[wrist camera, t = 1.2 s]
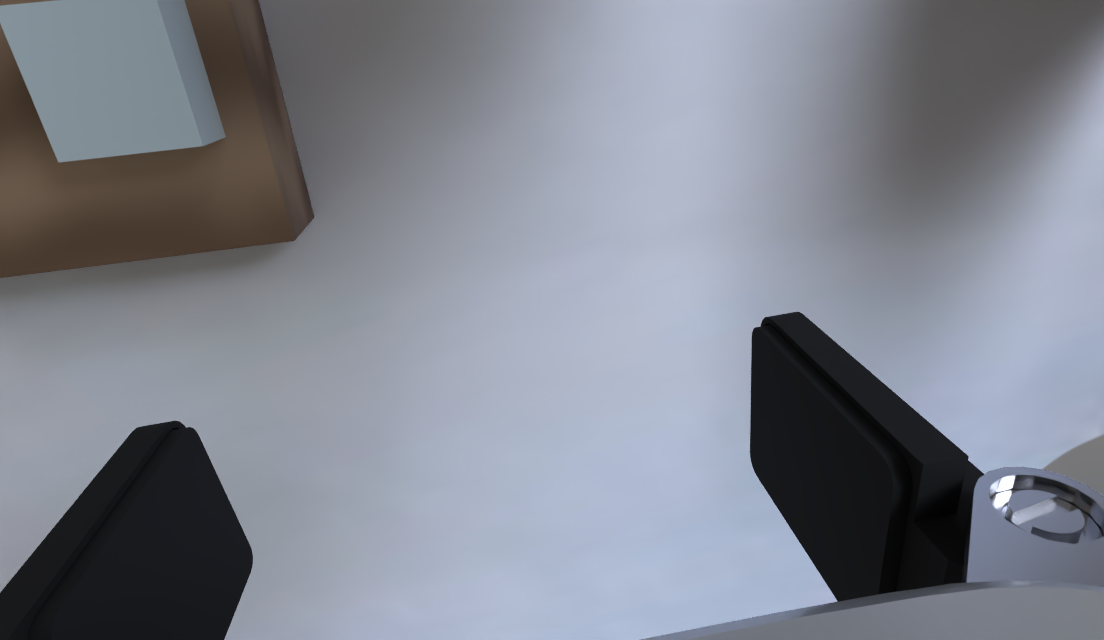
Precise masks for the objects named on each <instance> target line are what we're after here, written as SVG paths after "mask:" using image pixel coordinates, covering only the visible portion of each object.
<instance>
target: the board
mask: <svg viewBox="0 0 1104 640" xmlns="http://www.w3.org/2000/svg"><path fill="white" fill-rule="evenodd" d="M45 1H55V0H0V6H2V5H12V4H23V3H34V2H45ZM185 4H186V7H187V10H188V14H189V17H190V20H191V24H192V27H193V30H194V34H195V37H196V40H197V43H198V47H199V50H200V53H201V57H202V60H203V63H204V67H205V70H206V73H207V76H208V80H209V83H210V86H211V90H212V93H213V96H214V100H215V103H216V106H217V110H218V113H219V116H220V119H221V123H222V126H223V129H224V133H225V136H226V137H225V138H223V139H220V140H218V141H215V142H212V143H210V144H207V145H205V146H200V147H191V148H183V149H174V150H165V151H156V152H147V153H138V154H129V155H121V156H112V157H103V158H94V159H85V160H76V161H67V162H59V163H58V160H57V158H56V156H55V153H54V151H53V148H52V146H51V144H50V141H49V139H48V136H47V134H46V132H45V129H44V127H43V125H42V122H41V120H40V117H39V115H38V113H37V110H36V108H35V105H34V103H33V101H32V98H31V96H30V93H29V91H28V89H27V86H26V84H25V81H24V79H23V77H22V74H21V72H20V70H19V67H18V65H17V62H16V60H15V58H14V55H13V53H12V50H11V48H10V46H9V43H8V41H7V38H6V36H5V34H4V31H3V29H2V26H1V24H0V278H3V277H11V276H18V275H26V274H34V273H42V272H50V271H58V270H66V269H74V268H82V267H90V266H98V265H106V264H113V263H121V262H129V261H137V260H145V259H153V258H161V257H169V256H177V255H185V254H193V253H201V252H209V251H216V250H224V249H232V248H240V247H248V246H256V245H264V244H272V243H280V242H288V241H294V240H295V239H296V238H297V237H298V236H299V235H300V233H301V232H302V231H303V230H304V229H305V227H306V226H307V225H308V224H309V223H310V222H311V220H312V219H313V218H314V214H313V210H312V207H311V203H310V199H309V195H308V191H307V187H306V183H305V179H304V176H303V172H302V168H301V164H300V160H299V156H298V152H297V148H296V145H295V141H294V137H293V133H292V129H291V125H290V121H289V118H288V114H287V110H286V106H285V102H284V98H283V94H282V90H281V87H280V83H279V79H278V75H277V71H276V67H275V63H274V60H273V56H272V52H271V48H270V44H269V40H268V36H267V32H266V29H265V25H264V21H263V17H262V13H261V9H260V5H259V2H258V0H185Z"/></svg>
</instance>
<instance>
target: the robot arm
mask: <svg viewBox="0 0 1104 640" xmlns="http://www.w3.org/2000/svg"><path fill="white" fill-rule="evenodd" d="M750 457H751V462H752V466H753V469H754V471H755V473H756V475H757V477H758V478H759V480H760V481H761V483H762V485H763V486H764V488H765V489H766V491H767V492H768V494H769V495H770V497H771V499H772V500H773V502H774V503H775V505H776V506H777V508H778V509H779V511H780V512H781V514H782V516H783V517H784V519H785V520H786V522H787V523H788V525H789V526H790V528H791V529H792V531H793V533H794V534H795V536H796V537H797V539H798V540H799V542H800V543H801V545H802V546H803V548H804V550H805V551H806V553H807V554H808V556H809V557H810V559H811V560H812V562H813V564H814V565H815V567H816V568H817V570H818V571H819V573H820V574H821V576H822V577H823V579H824V581H825V582H826V584H827V585H828V587H829V588H830V590H831V591H832V593H833V594H834V596H835V598H836V599H837V601H838V602H834V603H828V604H823V605H817V606H812V607H806V608H801V609H795V610H790V611H784V612H778V613H773V614H768V615H763V616H758V617H752V618H747V619H742V620H737V621H732V622H727V623H722V624H717V625H712V626H707V627H702V628H697V629H692V630H686V631H681V632H676V633H671V634H666V635H661V636H656V637H651V638H646V639H641V640H1104V496H1103V495H1101V494H1100V493H1098V492H1097V491H1095V490H1093V489H1092V488H1091V487H1089V486H1087V485H1085V484H1083V483H1081V482H1078V481H1076V480H1074V479H1072V478H1070V477H1067V476H1064V475H1061V474H1057V473H1054V472H1050V471H1047V470H1042V469H1035V468H1028V467H1004V468H1000V469H996V470H993V471H989V472H987V473H986V474H985V475H984V474H983V473H982V472H981V471H980V470H979V469H978V468H976V467H975V466H974V465H973V464H972V463H971V462H969V461H968V455H966V454H965V453H964V452H963V451H962V450H961V449H959V448H958V447H957V446H956V445H955V444H954V443H952V442H951V441H950V440H949V439H948V438H947V437H945V436H944V435H943V434H942V433H941V432H940V431H938V430H937V429H936V428H935V427H934V426H933V425H931V424H930V423H929V422H928V421H927V420H926V419H924V418H923V417H922V416H921V415H920V414H919V413H917V412H916V411H915V410H914V409H913V408H912V407H910V406H909V405H908V404H907V403H906V402H905V401H903V400H902V399H901V398H900V397H899V396H898V395H896V394H895V393H894V392H893V391H892V390H891V389H889V388H888V387H887V386H886V385H885V384H884V383H882V382H881V381H880V380H879V379H878V378H877V377H875V376H874V375H873V374H872V373H871V372H870V371H868V370H867V369H866V368H865V367H864V366H863V365H861V364H860V363H859V362H858V361H857V360H856V359H854V358H853V357H852V356H851V355H850V354H849V353H847V352H846V351H845V350H844V349H843V348H842V347H840V346H839V345H838V344H837V343H836V342H835V341H833V340H832V339H831V338H830V337H829V336H828V335H826V334H825V333H824V332H823V331H822V330H821V329H819V328H818V327H817V326H816V325H815V324H814V323H812V322H811V321H810V320H809V319H808V318H807V317H805V316H804V315H803V314H802V313H800V312H793V313H787V314H782V315H776V316H770V317H765V318H764V319H763V321H762V323H761V327H756V328H754V329H753V332H752V363H751V431H750ZM252 564H253V555H252V550H251V547H250V544H249V542H248V540H247V538H246V536H245V534H244V532H243V529H242V527H241V525H240V523H239V521H238V519H237V517H236V514H235V512H234V510H233V508H232V506H231V504H230V502H229V499H228V497H227V495H226V493H225V491H224V489H223V487H222V484H221V482H220V480H219V478H218V476H217V474H216V471H215V469H214V467H213V465H212V463H211V461H210V459H209V456H208V454H207V452H206V450H205V448H204V446H203V444H202V441H201V439H200V437H199V435H198V433H197V432H196V431H195V430H194V429H193V428H191V427H188V428H186V427H185V426H184V425H183V424H182V423H181V422H178V421H171V422H165V423H160V424H154V425H148V426H142V427H138V428H136V429H135V430H134V431H133V432H132V433H131V434H130V435H129V436H128V438H127V439H126V440H125V441H124V443H123V444H122V445H121V446H120V447H119V449H118V450H117V451H116V452H115V453H114V455H113V456H112V457H111V458H110V460H109V461H108V462H107V463H106V464H105V466H104V467H103V468H102V469H101V471H100V472H99V473H98V474H97V475H96V477H95V478H94V479H93V480H92V482H91V483H90V484H89V485H88V486H87V488H86V489H85V490H84V491H83V493H82V494H81V495H80V496H79V497H78V499H77V500H76V501H75V502H74V504H73V505H72V506H71V507H70V508H69V510H68V511H67V512H66V513H65V514H64V516H63V517H62V518H61V519H60V521H59V522H58V523H57V524H56V525H55V527H54V528H53V529H52V530H51V532H50V533H49V534H48V535H47V536H46V538H45V539H44V540H43V541H42V543H41V544H40V545H39V546H38V547H37V549H36V550H35V551H34V552H33V554H32V555H31V556H30V557H29V558H28V560H27V561H26V562H25V563H24V565H23V566H22V567H21V568H20V569H19V571H18V572H17V573H16V574H15V576H14V577H13V578H12V579H11V580H10V582H9V583H8V584H7V585H6V586H5V588H4V589H3V590H2V591H1V593H0V640H224V639H225V636H226V634H227V631H228V629H229V626H230V623H231V621H232V618H233V616H234V613H235V611H236V608H237V606H238V603H239V601H240V598H241V595H242V593H243V590H244V588H245V585H246V583H247V580H248V578H249V575H250V573H251V569H252Z"/></svg>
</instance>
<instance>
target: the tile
mask: <svg viewBox="0 0 1104 640" xmlns="http://www.w3.org/2000/svg"><path fill="white" fill-rule="evenodd" d="M0 24H1V26H2V29H3V31H4V34H5V36H6V38H7V41H8V43H9V46H10V48H11V50H12V53H13V55H14V58H15V60H16V62H17V65H18V67H19V70H20V72H21V74H22V77H23V79H24V81H25V84H26V86H27V89H28V91H29V93H30V96H31V98H32V101H33V103H34V105H35V108H36V110H37V113H38V115H39V117H40V120H41V122H42V125H43V127H44V129H45V132H46V134H47V136H48V139H49V141H50V144H51V146H52V148H53V151H54V153H55V156H56V158H57V160H58V163H59V162H67V161H76V160H85V159H94V158H103V157H112V156H121V155H129V154H138V153H147V152H156V151H165V150H174V149H183V148H191V147H200V146H205V145H207V144H210V143H212V142H215V141H218V140H220V139H223V138H225V137H226V136H225V133H224V129H223V126H222V123H221V119H220V116H219V113H218V110H217V106H216V103H215V100H214V96H213V93H212V90H211V86H210V83H209V80H208V76H207V73H206V70H205V67H204V63H203V60H202V57H201V53H200V50H199V47H198V43H197V40H196V37H195V34H194V30H193V27H192V24H191V20H190V17H189V14H188V10H187V7H186V4H185V0H55V1H45V2H34V3H23V4H12V5H2V6H0Z"/></svg>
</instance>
